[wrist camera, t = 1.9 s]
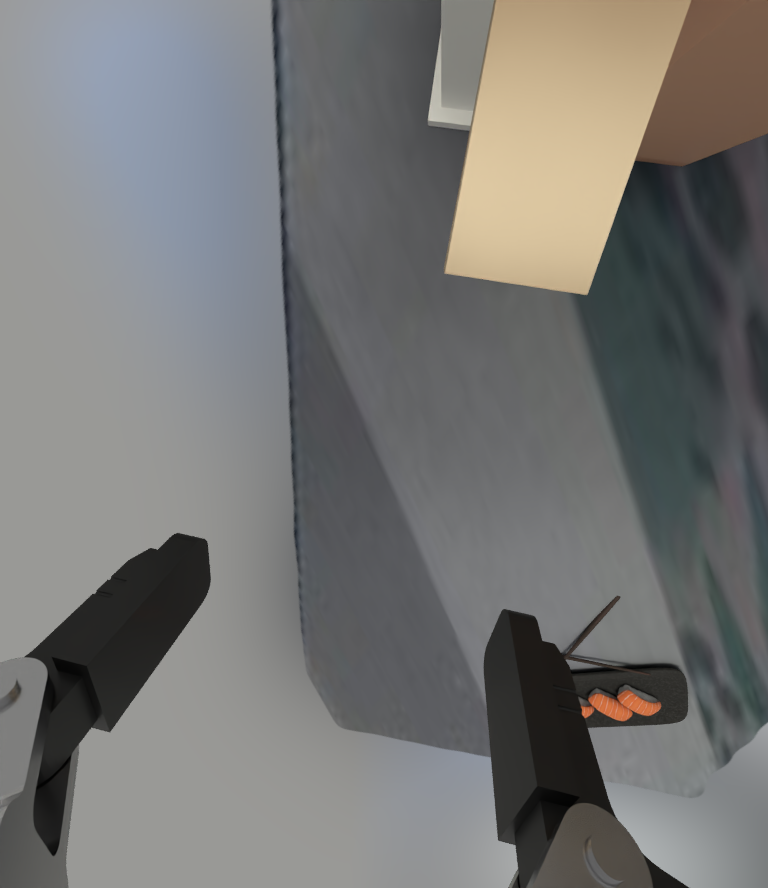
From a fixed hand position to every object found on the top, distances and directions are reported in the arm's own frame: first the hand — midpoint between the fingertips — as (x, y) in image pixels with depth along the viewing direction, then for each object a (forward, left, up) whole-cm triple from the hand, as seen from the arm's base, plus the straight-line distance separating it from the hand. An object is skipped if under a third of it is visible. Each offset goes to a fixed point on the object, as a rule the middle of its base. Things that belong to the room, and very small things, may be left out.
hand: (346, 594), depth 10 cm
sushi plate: (+19, +57, -38) cm, 71 cm away
